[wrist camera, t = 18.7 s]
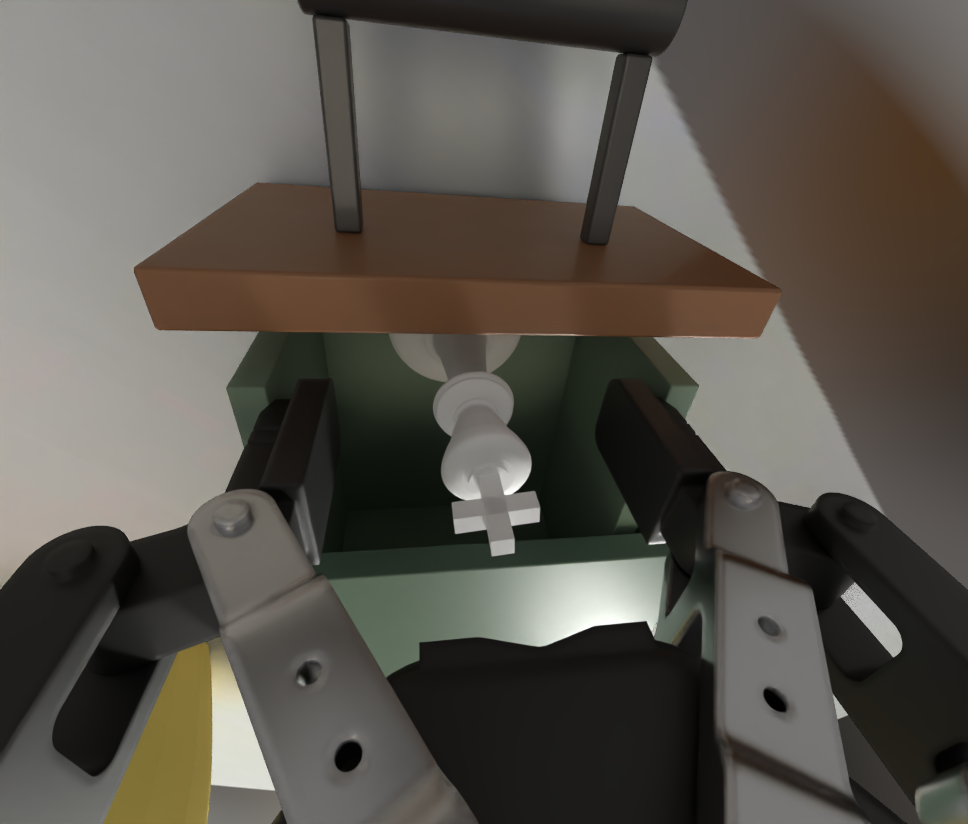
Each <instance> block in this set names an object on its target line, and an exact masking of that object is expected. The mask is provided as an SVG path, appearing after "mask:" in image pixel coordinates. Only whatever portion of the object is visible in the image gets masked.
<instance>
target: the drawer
mask: <svg viewBox="0 0 968 824" xmlns="http://www.w3.org/2000/svg"><path fill="white" fill-rule="evenodd" d="M687 1H688V0H298V3H299V6H300V8H301V10H302V12H303V13H305V14H308V15H313V19H312V20H313V30H314V39H315V48H316V58H317V67H318V76H319V86H320V95H321V104H322V114H323V123H324V132H325V142H326V151H327V160H328V170H329V179H330V187H320V186H304V185H289V184H273V183H256V184H254V185H253V186H251V187H250V188H248V189H247V190H245V191H244V192H243V193H241V194H240V195H238V196H237V197H235V198H234V199H232V200H231V201H230V202H228V203H227V204H225V205H224V206H222V207H221V208H219V209H218V210H216V211H215V212H214V213H212V214H211V215H209V216H208V217H206V218H205V219H203V220H202V221H201V222H199V223H198V224H196V225H195V226H193V227H192V228H190V229H189V230H187V231H186V232H185V233H183V234H182V235H180V236H179V237H177V238H176V239H174V240H173V241H172V242H170V243H169V244H167V245H166V246H164V247H163V248H161V249H160V250H158V251H157V252H156V253H154V254H153V255H151V256H150V257H148V258H147V259H145V260H144V261H143V262H141V263H140V264H138V265H137V266H135V267H134V273H135V276H136V279H137V281H138V284H139V286H140V289H141V292H142V294H143V297H144V300H145V302H146V305H147V307H148V310H149V313H150V315H151V318H152V321H153V323H154V326H155V328H156V329H158V330H190V331H259V333H258V334H257V336H256V338H255V340H254V341H253V343H252V345H251V346H250V348H249V350H248V352H247V353H246V355H245V357H244V358H243V360H242V362H241V364H240V365H239V367H238V369H237V370H236V372H235V374H234V376H233V377H232V379H231V381H230V382H229V384H228V386H227V388H226V389H227V392H228V396H229V399H230V402H231V406H232V409H233V412H234V415H235V419H236V422H237V425H238V429H239V432H240V435H241V438H242V442H243V445H244V448H245V446H246V444H248V439H249V436H250V434H251V432H252V431H253V427H254V425H255V423H256V421H257V418H258V416H259V414H260V412H261V411H262V410H264V409H265V408H266V407H267V406H268V405H269V404H270V403H272V402H273V401H274V400H275V399H291V397H292V394H293V391H294V389H295V386H296V383H297V381H298V379H299V378H332V380H333V383H334V388H335V395H336V403H337V410H338V418H339V425H340V439H341V441H340V454H339V460H338V465H337V471H336V476H335V482H334V487H333V493H332V498H331V504H330V509H329V515H328V520H327V526H326V531H325V537H324V542H323V548H322V553H330V552H346V551H362V550H379V549H395V548H411V547H427V546H443V545H459V544H476V543H489V539H488V533H487V530H480V531H473V532H466V533H459V534H455V529H454V521H453V512H452V503H451V502H458V501H465V500H463V499H461V498H459V497H457V496H455V495H454V494H452V493H451V492H450V491H449V490H448V489H447V487H446V486H445V484H444V482H443V480H442V476H441V465H442V460H443V457H444V454H445V451H446V448H447V446H448V444H449V443H450V440H451V436H450V435H448V434H447V433H445V432H444V431H443V430H442V428H441V427H440V426H439V424H438V423H437V421H436V419H435V416H434V413H433V402H434V398H435V395H436V393H437V392H438V390H439V389H440V387H441V386H442V385H443V384H444V383H445V382H441V381H436V380H432V379H429V378H427V377H425V376H422V375H420V374H419V373H417V372H415V371H414V370H413V369H411V368H410V367H409V366H408V365H407V364H405V363H404V361H403V360H402V359H401V358H400V357H399V355H398V354H397V352H396V351H395V349H394V347H393V345H392V343H391V340H390V337H389V333H403V334H474V335H521V337H520V340H519V342H518V344H517V346H516V348H515V350H514V351H513V353H512V354H511V355H510V357H509V358H508V359H507V360H506V361H505V362H504V363H503V364H502V365H501V366H500V367H498V368H497V369H496V370H494V371H493V372H491V373H492V374H494V375H496V376H498V377H500V378H501V379H503V380H504V381H505V382H506V383H507V384H508V386H509V387H510V389H511V391H512V393H513V397H514V407H513V412H512V416H511V418H510V420H509V422H508V424H507V425H506V426H507V427H508V428H509V429H510V430H511V431H513V432H514V433H515V434H516V435H517V436H518V437H519V438H520V439H521V440H522V441H523V443H524V444H525V445H526V447H527V449H528V450H529V453H530V456H531V461H532V466H531V471H530V474H529V477H528V478H527V480H526V482H525V483H524V484H523V485H522V486H521V487H520V488H519V489H518V490H517V491H516V492H514V493H513V494H516V493H523V492H530V491H535V493H536V496H537V499H538V502H539V505H540V521H539V522H535V523H528V524H521V525H515V526H512V530H513V534H514V539H515V541H524V540H540V539H557V538H573V537H589V536H605V535H621V534H635V532H636V530H637V527H638V526H637V524H636V522H635V520H634V518H633V516H632V514H631V512H630V510H629V508H628V506H627V504H626V502H625V500H624V498H623V496H622V494H621V493H620V491H619V489H618V487H617V485H616V483H615V481H614V479H613V477H612V475H611V473H610V471H609V469H608V467H607V465H606V463H605V461H604V459H603V457H602V456H601V454H600V452H599V450H598V448H597V445H596V441H595V426H596V422H597V419H598V415H599V412H600V409H601V405H602V402H603V399H604V395H605V392H606V389H607V386H608V383H609V382H610V381H611V380H612V379H642V380H643V381H644V382H645V383H646V384H647V386H648V387H649V388H650V390H651V391H652V392H653V393H654V395H655V396H656V397H660V398H662V399H663V400H665V401H666V402H667V403H669V404H670V405H672V406H673V407H675V408H676V409H677V410H678V411H679V413H680V414H681V415H682V416H683V418H684V419H685V418H686V415H687V413H688V411H689V408H690V406H691V404H692V401H693V399H694V397H695V395H696V392H697V390H698V388H699V385H698V384H697V383H696V382H695V381H694V380H693V379H692V378H691V376H690V375H689V374H688V373H687V372H686V371H685V370H684V369H683V368H682V367H681V366H680V365H679V364H678V363H677V362H676V361H675V360H674V359H673V358H672V357H671V355H670V354H669V353H668V352H667V351H666V350H665V349H664V348H663V347H662V346H661V345H660V344H659V343H658V342H657V341H656V340H655V339H654V338H653V337H688V338H759V337H760V336H761V334H762V332H763V330H764V328H765V326H766V324H767V322H768V320H769V318H770V316H771V314H772V312H773V310H774V308H775V306H776V303H777V301H778V299H779V297H780V295H781V293H782V290H781V289H780V288H778V287H776V286H775V285H773V284H771V283H769V282H767V281H766V280H764V279H762V278H760V277H759V276H757V275H755V274H753V273H751V272H750V271H748V270H746V269H744V268H743V267H741V266H739V265H737V264H735V263H734V262H732V261H730V260H728V259H726V258H725V257H723V256H721V255H719V254H718V253H716V252H714V251H712V250H710V249H709V248H707V247H705V246H703V245H702V244H700V243H698V242H696V241H694V240H693V239H691V238H689V237H687V236H685V235H684V234H682V233H680V232H678V231H677V230H675V229H673V228H671V227H669V226H668V225H666V224H664V223H662V222H661V221H659V220H657V219H655V218H653V217H652V216H650V215H648V214H646V213H644V212H643V211H641V210H639V209H637V208H636V207H632V206H617V204H618V200H619V196H620V192H621V188H622V184H623V179H624V175H625V171H626V167H627V163H628V159H629V155H630V150H631V146H632V142H633V138H634V134H635V130H636V125H637V121H638V117H639V113H640V109H641V105H642V100H643V96H644V92H645V88H646V84H647V80H648V76H649V71H650V67H651V63H652V57H656V56H659V55H661V54H662V53H663V52H664V51H665V50H666V49H667V48H668V47H669V45H670V44H671V42H672V40H673V38H674V36H675V35H676V32H677V30H678V28H679V26H680V23H681V21H682V18H683V15H684V12H685V9H686V5H687ZM345 19H349V20H357V21H365V22H373V23H381V24H390V25H398V26H406V27H414V28H422V29H430V30H438V31H447V32H455V33H463V34H471V35H479V36H487V37H496V38H504V39H512V40H520V41H528V42H536V43H544V44H553V45H561V46H569V47H577V48H585V49H593V50H601V51H610V52H618V53H623V54H619V55H617V57H616V61H615V66H614V71H613V76H612V81H611V86H610V91H609V96H608V101H607V106H606V110H605V115H604V120H603V125H602V130H601V135H600V140H599V145H598V150H597V155H596V160H595V165H594V170H593V175H592V180H591V184H590V189H589V194H588V199H587V204H585V203H569V202H554V201H538V200H523V199H507V198H492V197H476V196H460V195H445V194H429V193H414V192H398V191H382V190H367V189H361V182H360V168H359V154H358V140H357V126H356V112H355V97H354V83H353V69H352V55H351V41H350V27H349V23H348V22H347V21H346V20H345Z"/></svg>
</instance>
